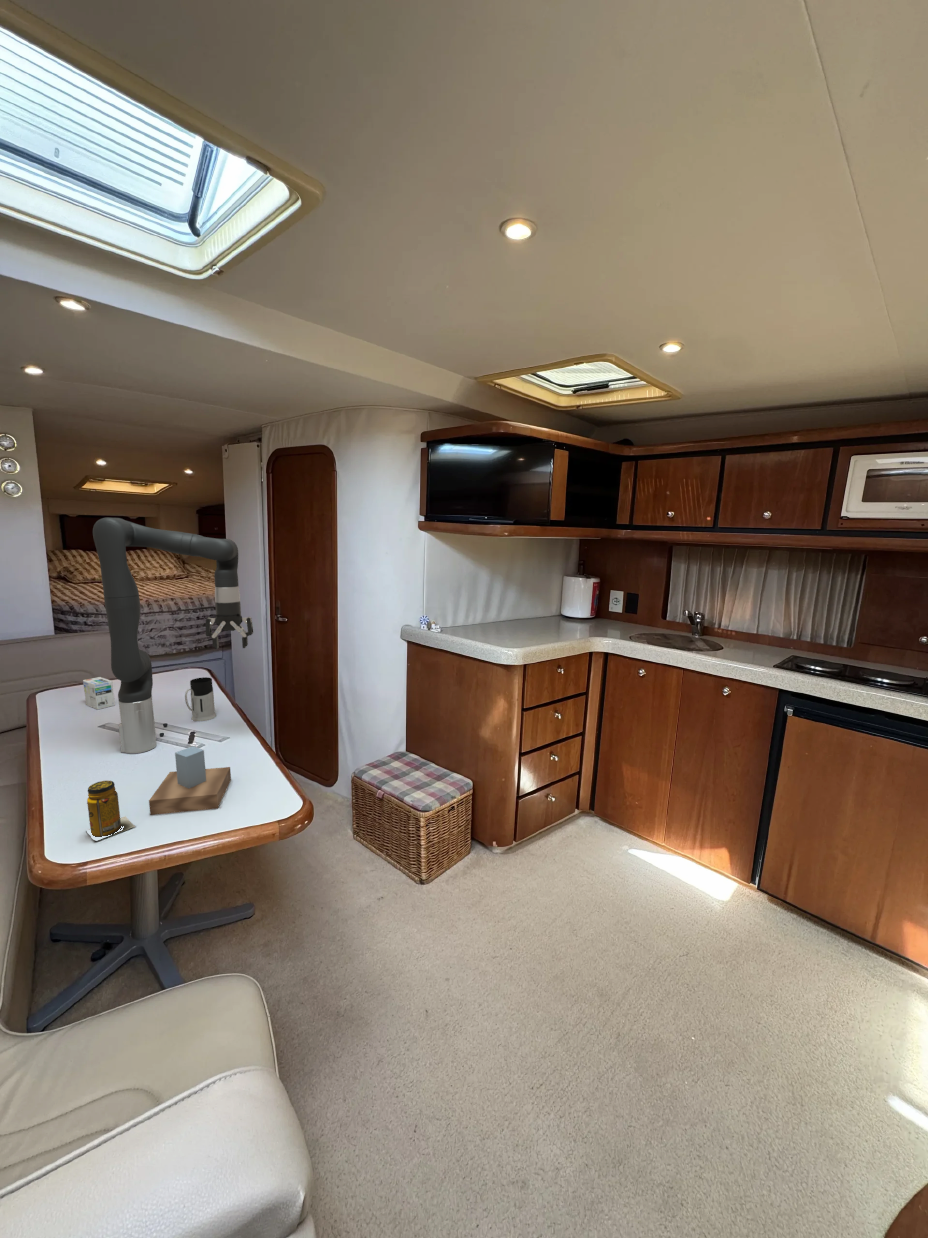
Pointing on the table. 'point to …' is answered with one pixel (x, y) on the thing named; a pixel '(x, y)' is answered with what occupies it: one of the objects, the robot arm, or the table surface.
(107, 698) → the light bulb box
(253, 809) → the table surface
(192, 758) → the slate block
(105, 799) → the condiment
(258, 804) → the table surface
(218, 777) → the walnut plinth
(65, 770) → the table surface
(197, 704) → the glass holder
